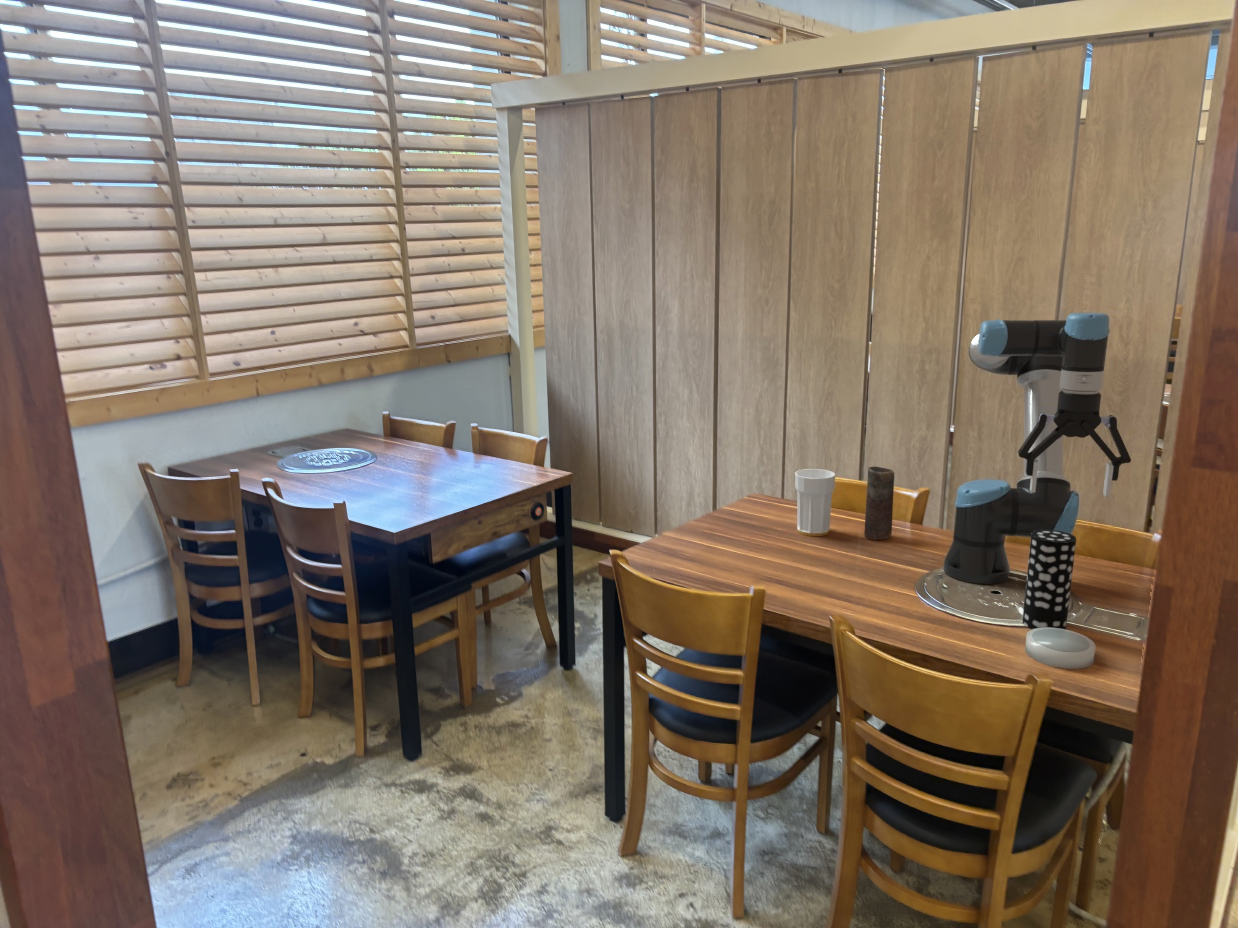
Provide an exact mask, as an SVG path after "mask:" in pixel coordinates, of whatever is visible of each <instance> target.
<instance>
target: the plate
mask: <svg viewBox="0 0 1238 928" xmlns="http://www.w3.org/2000/svg"><path fill="white" fill-rule="evenodd" d="M1024 651H1025V653H1026V654H1027V655H1028V656H1029V657H1030V658H1031V659H1033V660H1034V661H1036V662H1039V663H1041V664H1044V665H1046V666H1050V667H1055V668H1059V669H1067V670H1068V669H1069V670H1079V669H1085V668H1086V669H1087V668H1089V667H1091V666H1093V664H1094V662H1095V661H1094V660H1095V656H1096V644H1095V643H1094V641H1093V640H1092V639H1090V637H1087V636H1086V635H1084V634H1081V633H1078V632H1076V631H1073V630H1070V629H1069V630H1068V629H1066V630H1065V629H1060V628H1049V627H1045V628H1036V629H1030V630H1029V631H1027V633H1026V638H1025V649H1024Z"/></svg>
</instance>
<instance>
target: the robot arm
mask: <svg viewBox="0 0 1238 928" xmlns="http://www.w3.org/2000/svg"><path fill="white" fill-rule="evenodd" d="M1110 331H1111V330H1110V316H1109V315H1108V314H1107V313H1104V312H1103V313H1102V312H1073V313H1070V314H1068V315H1067V317H1066V319H1039V320H1038V319H1034V320H1027V319H1026V320H1023V319H1022V320H1021V319H1020V320H1017V319H1016V320H1015V319H1014V320H1012V319H1009V320H1007V319H1003V320H1002V319H994V320H993V319H991V320H984V321H983V322H981V323H980V328H979V333H978V334H977V335H976V336H974V337H973V339H971V342H970V343H969V345H968V356H969V359H970V361H971V362H972V363H973V365H975V366H976V367H977V368H979V369H980V370H983V371H986V372H988V373H991V374H996V375H1001V376H1002V375H1007V376H1008V375H1009V376H1016V383H1017V385H1019V386H1020V387H1022V388H1023V443H1022V445H1021V447H1020V448H1019V450H1018V451H1017V454H1018V456H1019V457H1020V458H1021V459H1023V476H1022V477H1021V478H1020V479H1018V480H1017V482H1016V487H1015V488H1013V487H1011V485H1010V483H1009V482H1007V481H1006V480H1003V479H993V478H992V479H987V478H986V479H975V480H971V481H967V482H964V483H962V484H961V485H960V486H959V487H958V489H957V491H956V500H955V502H954V506H955V514H954V526H953V537H952V542H951V545H950V546H949V549H948V551H947V553H946V556H945V558H944V561H943V572H944V573H945V574H946V575H947V576H949V577H951V578H953V579H956V580H959V581H962V582H967V583H972V584H973V583H974V584H980V585H981V584H982V585H983V584H984V585H986V584H988V585H991V584H993V585H994V584H1000V583H1004V582H1006V581H1008V580H1009V579H1010V573H1011V572H1010V571H1011V568H1010V563H1009V559H1008V556H1007V552H1006V549H1005V538H1006V536H1007V537H1008V536H1009V537H1018V538H1019V537H1020V538H1021V537H1022V538H1031V533H1032V532H1033V531H1036V530H1057V531H1062V532H1066V533H1069V534H1072V533H1073V532H1074V529H1075V526H1076V523H1077V519H1078V515H1079V507H1080V493H1079V492H1078V491H1075V490H1072V489H1071V488H1072V487H1071V481H1070V480H1069V479H1067V478H1066V477H1065V476H1064V447H1063V446H1064V445H1063V444H1064V442H1063V441H1064V439H1063V437H1064V436H1065V437H1066V438H1075V437H1077V438H1081V439H1084V438H1086V437H1088V436H1090V438H1091V439H1092V440H1093V441H1094V443H1096V445H1097V446H1098V447H1099V448H1100V450H1101V451H1102V452H1103V453H1104V455H1106V457H1107V458H1108V459H1109V461H1110V462H1106V464H1105V465H1106V467H1105V475H1104V482H1103V491H1102V494H1103V496H1104V497H1105V498H1111V493H1112V492H1111V491H1112V483H1113V481H1115V482H1116V481H1118V479H1119V473H1120V467H1121V465H1123V464H1130V463H1131V461H1132V458H1131V456H1130V454H1129V452H1128V450H1127V447H1126V445H1125V442H1124V440H1123V438H1122V436H1121V434H1120V432H1119V429H1118V419H1117V418H1116V416H1114V415H1113V414H1110V415H1108V416H1100V408H1101V400H1102V394H1101V392H1100V391H1102V389H1103V383H1104V381H1103V380H1104V372H1105V366H1106V365H1105V364H1106V355H1107V349H1108V348H1107V347H1108V340H1109V335H1110ZM1101 424H1103V426H1104V427H1105V428H1107V429H1108V431H1109V433H1110V436H1111V438H1112V440H1113V442H1114V444H1115V447H1116V449H1117V451H1118V453H1119V456H1116V454H1114V452H1113V451H1112V450H1111V448H1110V447H1109V446H1108V445H1107V444H1106V442H1104V440H1103V439H1102V437H1100V435H1099V434H1098V433H1097V432H1096V431H1095V430H1096V429H1097V428H1098V426H1100V425H1101Z"/></svg>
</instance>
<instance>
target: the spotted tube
mask: <svg viewBox="0 0 1238 928" xmlns="http://www.w3.org/2000/svg"><path fill="white" fill-rule="evenodd" d="M1029 544H1030V545H1029V550H1028V551H1029V553H1028V562H1027V572H1026V582H1025V583H1026V585H1025V592H1024V594H1025V595H1024V601H1023V604H1024V605H1023V610H1022V611H1023V612H1022V613H1023V614H1022V624H1023V625H1024V626H1025V627H1027V628H1028V629H1030V630H1032V629H1036V628H1045V627H1049V628H1060V629H1065V630H1067V622H1068V615H1069V606H1070V597H1071V589H1072V579H1073V570H1074V564H1075V563H1074V560H1075V554H1076V553H1075V552H1076V546H1077V545H1076V544H1077V537H1076V536H1075V535H1074V534H1072V533H1071V534H1069V533H1066V532H1062V531H1057V530H1036V531H1033V532H1032V533H1031V537H1030V542H1029Z"/></svg>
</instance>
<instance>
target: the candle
mask: <svg viewBox="0 0 1238 928" xmlns="http://www.w3.org/2000/svg"><path fill="white" fill-rule="evenodd" d="M866 485H867V486H866V499H865V500H866V501H865V502H866V503H865V514H864V533H863V534H864V538H866V539H867V540H868V539H869V540H872V541H873V540H886V539H889V538H890V536H891V535H892V532H893V513H894V511H893V509H894V508H893V507H894V493H895V492H894V490H895V489H894V488H895V472H894V470H893V469H892V468H885V467H879V466H869V467H868V469H867V483H866Z"/></svg>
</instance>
